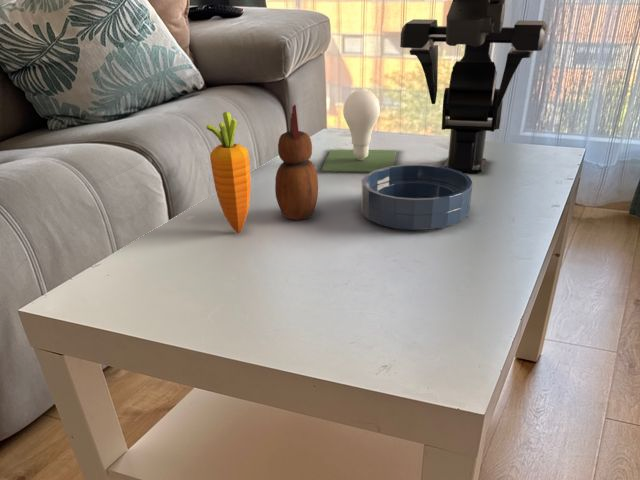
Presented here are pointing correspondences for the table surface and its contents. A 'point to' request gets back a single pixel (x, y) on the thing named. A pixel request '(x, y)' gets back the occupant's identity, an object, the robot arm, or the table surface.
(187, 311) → the table surface
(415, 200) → the bowl
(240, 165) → the carrot
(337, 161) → the napkin
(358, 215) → the table surface
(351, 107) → the lightbulb
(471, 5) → the robot arm
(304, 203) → the wooden figurine
